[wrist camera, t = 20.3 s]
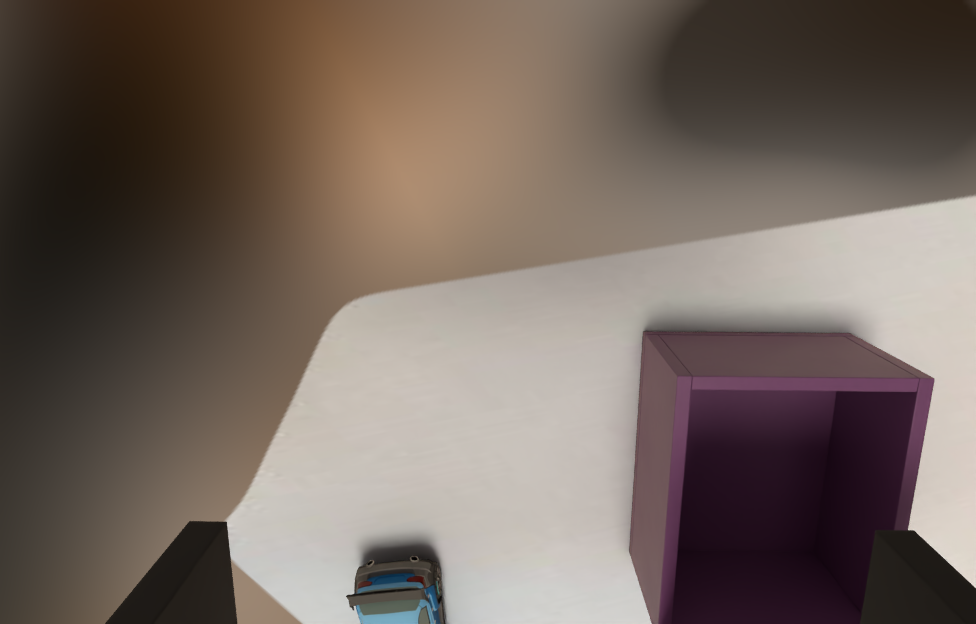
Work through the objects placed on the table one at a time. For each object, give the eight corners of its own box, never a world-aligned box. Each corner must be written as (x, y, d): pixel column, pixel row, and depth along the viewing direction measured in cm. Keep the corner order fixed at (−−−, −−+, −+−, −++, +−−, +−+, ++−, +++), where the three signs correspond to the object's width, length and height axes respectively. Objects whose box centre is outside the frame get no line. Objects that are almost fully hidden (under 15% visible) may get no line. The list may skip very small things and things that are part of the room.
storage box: (643, 331, 44) (677, 376, 35) (850, 332, 44) (935, 378, 35) (629, 552, 48) (656, 640, 39) (818, 554, 48) (887, 643, 39)
